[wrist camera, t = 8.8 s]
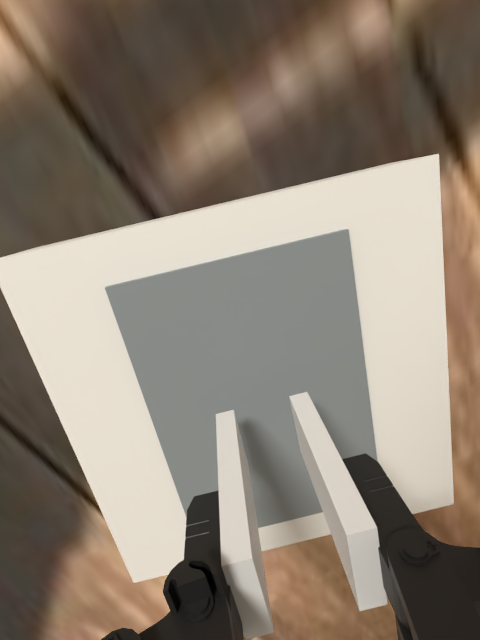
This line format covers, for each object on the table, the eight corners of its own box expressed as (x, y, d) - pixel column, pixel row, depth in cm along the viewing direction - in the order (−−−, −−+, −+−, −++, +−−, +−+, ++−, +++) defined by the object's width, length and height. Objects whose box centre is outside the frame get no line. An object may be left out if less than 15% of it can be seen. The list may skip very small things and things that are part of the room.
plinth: (34, 247, 18) (-16, 262, 14) (390, 163, 18) (443, 152, 14) (145, 522, 24) (132, 588, 20) (415, 456, 24) (457, 508, 20)
